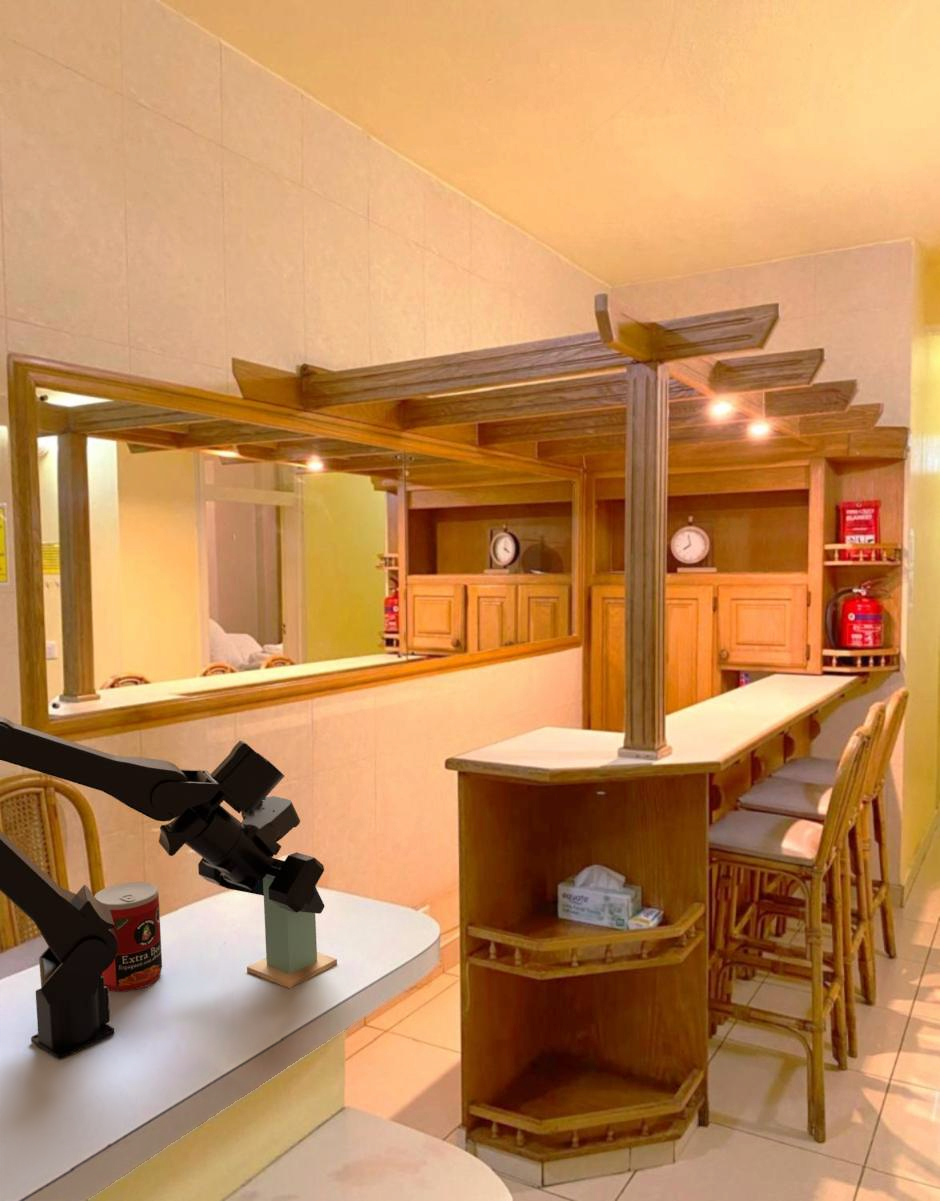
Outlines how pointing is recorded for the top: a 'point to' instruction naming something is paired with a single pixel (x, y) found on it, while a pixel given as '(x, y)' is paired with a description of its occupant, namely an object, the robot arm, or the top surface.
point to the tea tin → (288, 935)
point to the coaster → (294, 978)
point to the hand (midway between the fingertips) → (298, 901)
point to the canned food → (133, 935)
